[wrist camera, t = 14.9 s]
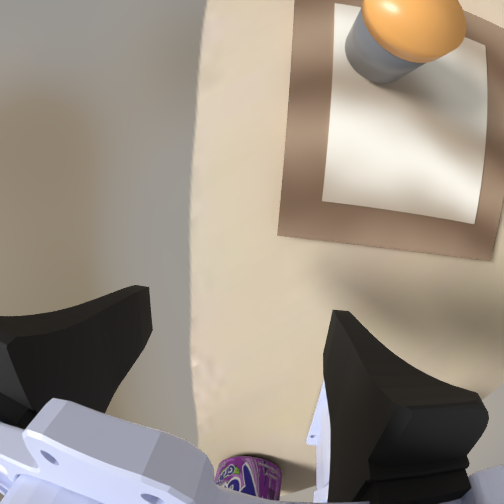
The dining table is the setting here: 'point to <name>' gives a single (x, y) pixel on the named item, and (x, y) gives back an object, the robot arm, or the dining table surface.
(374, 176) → the board
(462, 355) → the dining table surface
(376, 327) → the dining table surface
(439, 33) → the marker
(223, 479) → the beverage can
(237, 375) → the dining table surface
